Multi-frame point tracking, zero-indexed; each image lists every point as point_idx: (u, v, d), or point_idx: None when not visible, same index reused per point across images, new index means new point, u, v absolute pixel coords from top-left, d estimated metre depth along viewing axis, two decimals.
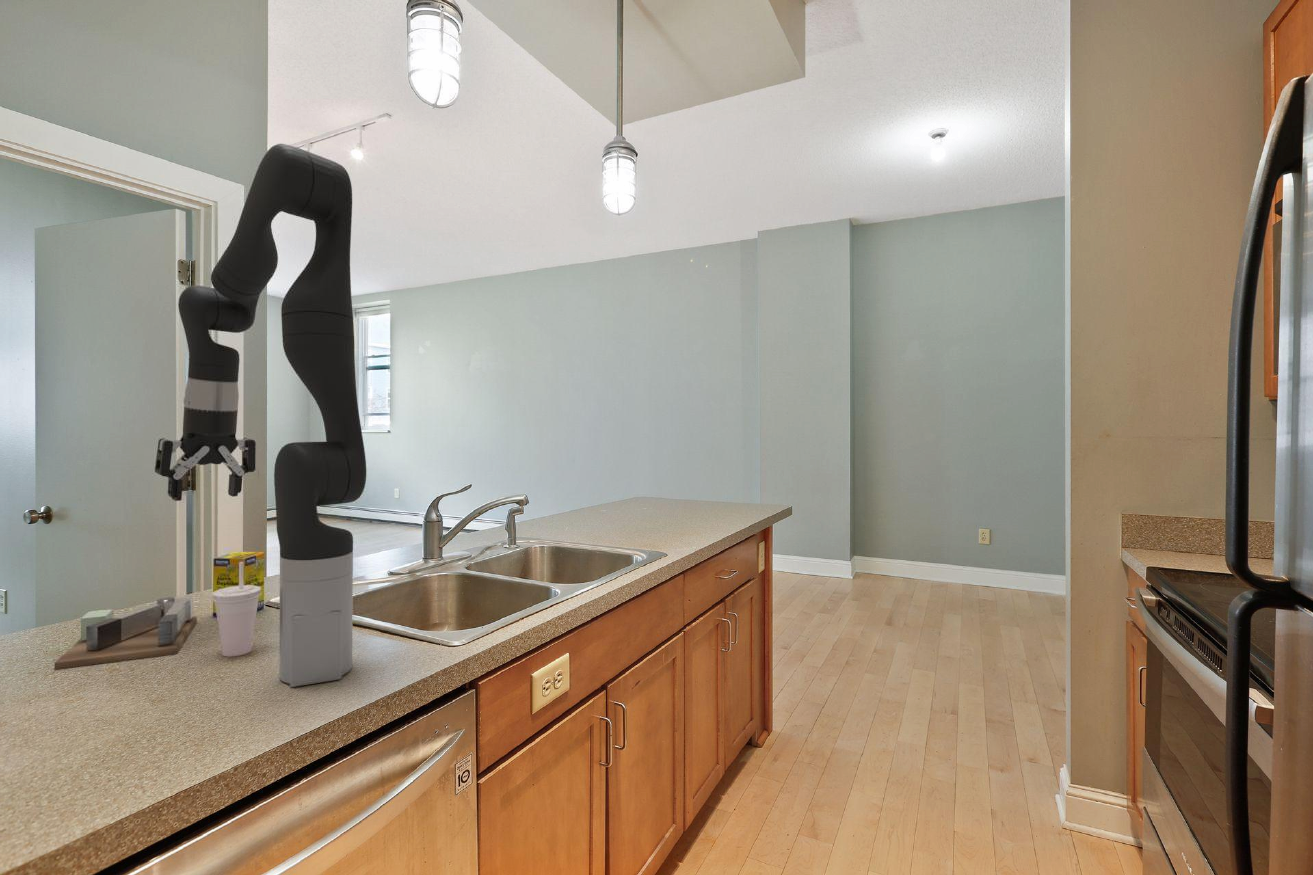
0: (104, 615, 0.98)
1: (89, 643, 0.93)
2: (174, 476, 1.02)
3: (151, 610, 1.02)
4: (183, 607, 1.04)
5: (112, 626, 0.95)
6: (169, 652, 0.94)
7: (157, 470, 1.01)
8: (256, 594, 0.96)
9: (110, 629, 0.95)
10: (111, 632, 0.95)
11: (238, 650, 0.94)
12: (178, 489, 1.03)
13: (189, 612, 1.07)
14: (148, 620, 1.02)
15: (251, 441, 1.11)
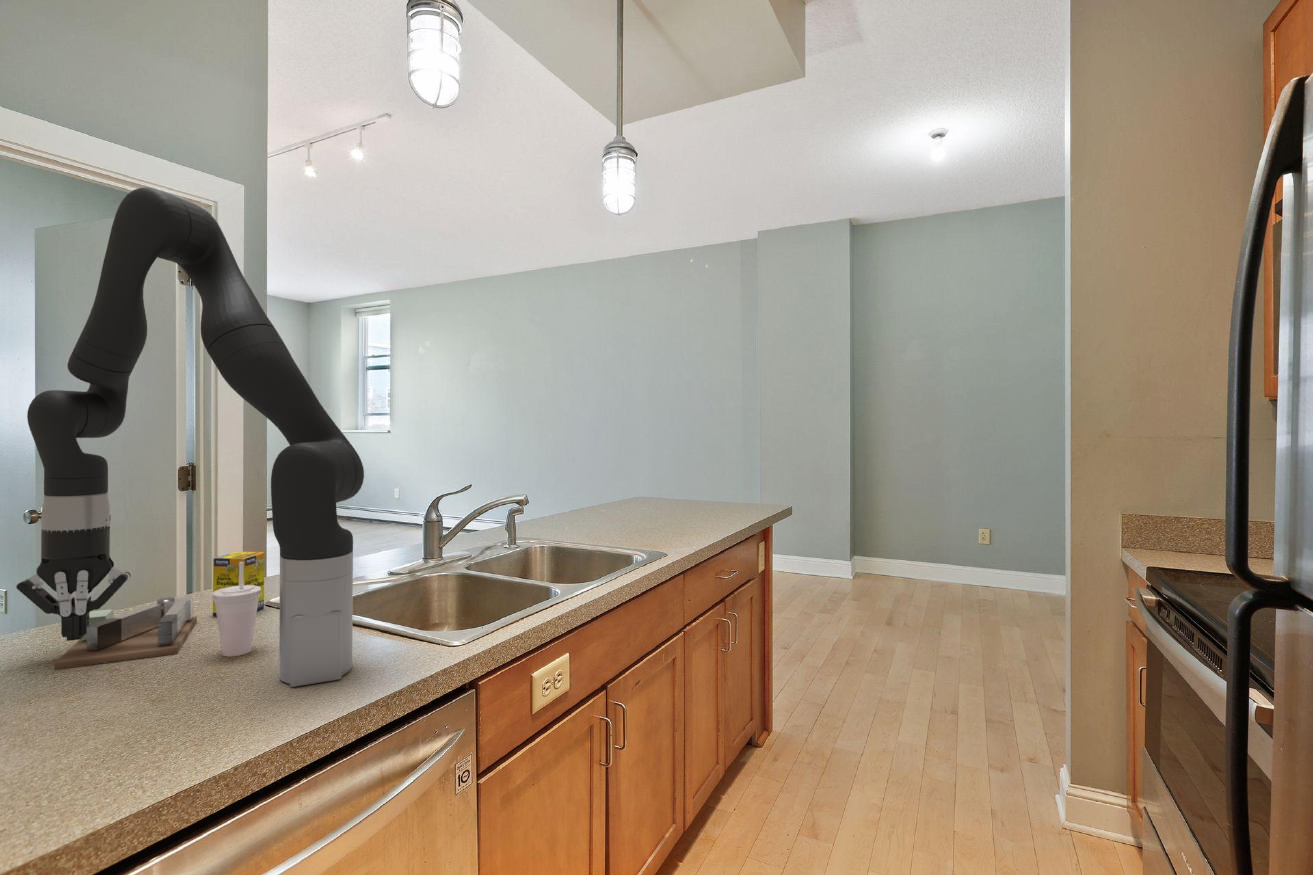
0: (104, 615, 0.98)
1: (89, 643, 0.93)
2: (61, 613, 0.91)
3: (151, 610, 1.02)
4: (183, 607, 1.04)
5: (112, 626, 0.95)
6: (169, 652, 0.94)
7: None
8: (256, 594, 0.96)
9: (110, 629, 0.95)
10: (111, 632, 0.95)
11: (238, 650, 0.94)
12: (67, 628, 0.92)
13: (189, 612, 1.07)
14: (148, 620, 1.02)
15: (122, 577, 0.94)
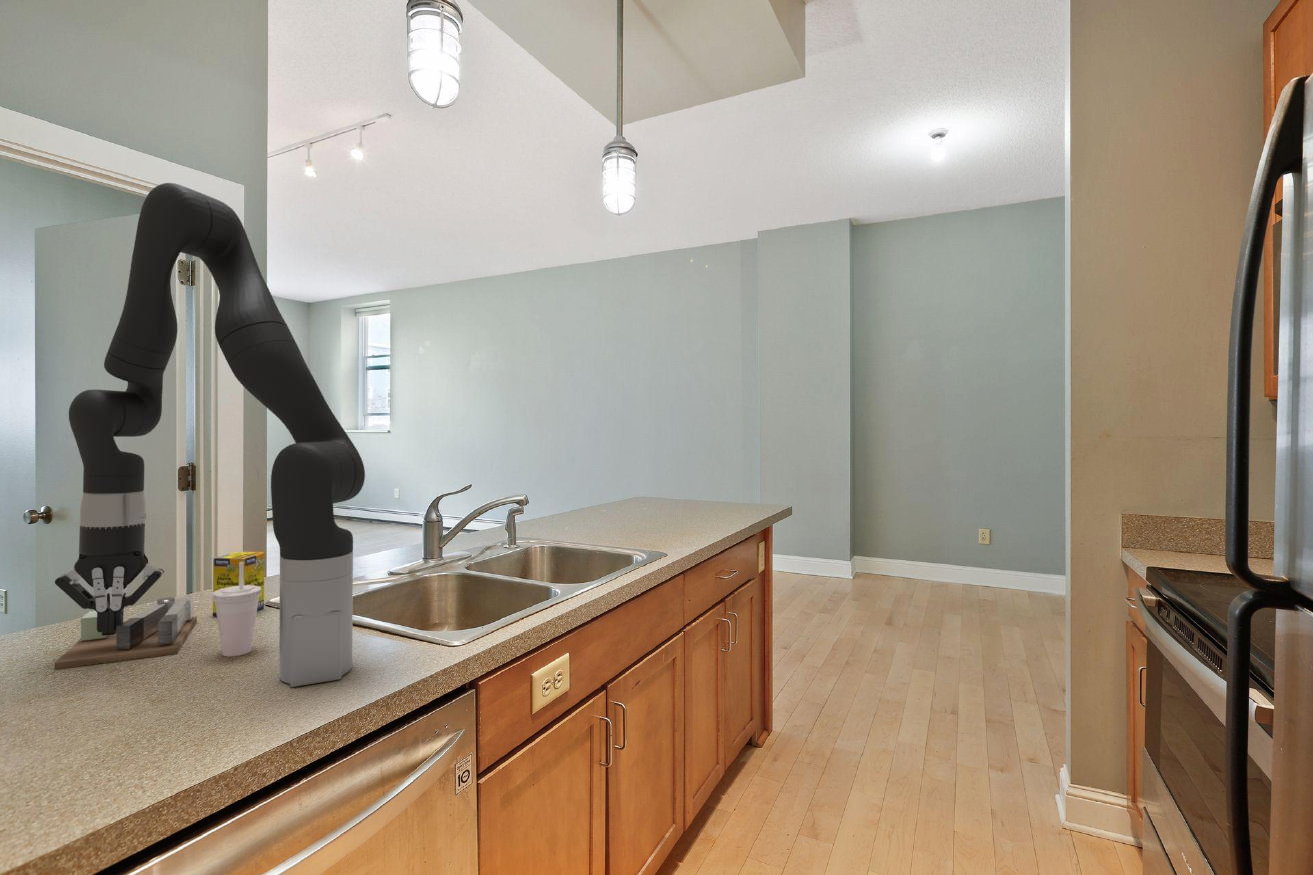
0: None
1: (120, 642, 0.93)
2: (97, 608, 0.93)
3: (160, 609, 1.03)
4: (183, 607, 1.04)
5: (138, 625, 0.96)
6: (169, 652, 0.94)
7: None
8: (256, 594, 0.96)
9: (137, 628, 0.95)
10: (137, 631, 0.96)
11: (238, 650, 0.94)
12: (102, 623, 0.93)
13: (189, 612, 1.07)
14: (158, 620, 1.02)
15: (156, 573, 0.96)
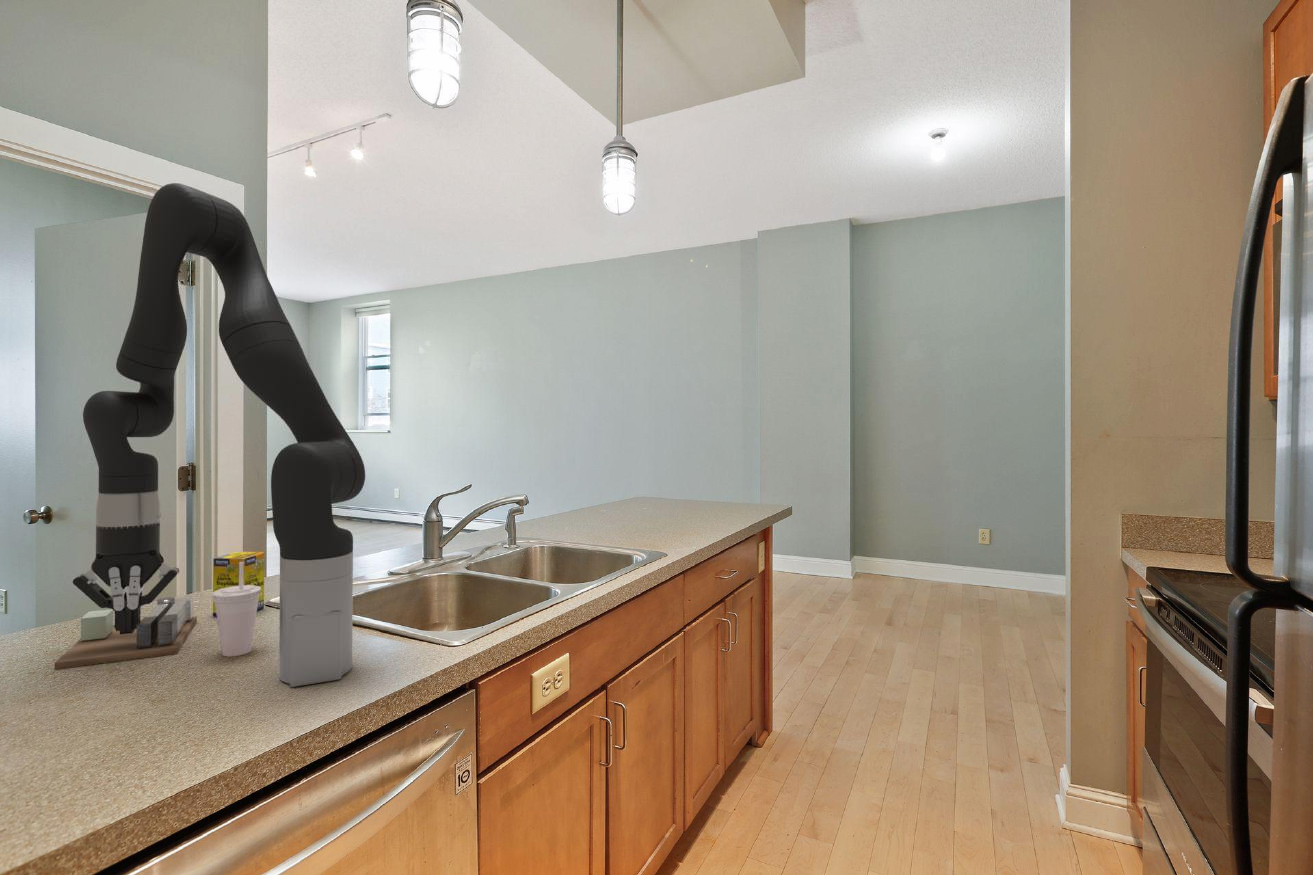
0: (104, 615, 0.98)
1: (140, 641, 0.94)
2: (115, 607, 0.94)
3: (166, 609, 1.03)
4: (183, 607, 1.04)
5: (154, 623, 0.97)
6: (169, 652, 0.94)
7: None
8: (256, 594, 0.96)
9: (154, 626, 0.96)
10: (154, 629, 0.96)
11: (238, 650, 0.94)
12: (120, 622, 0.94)
13: (189, 612, 1.07)
14: None
15: (172, 572, 0.97)
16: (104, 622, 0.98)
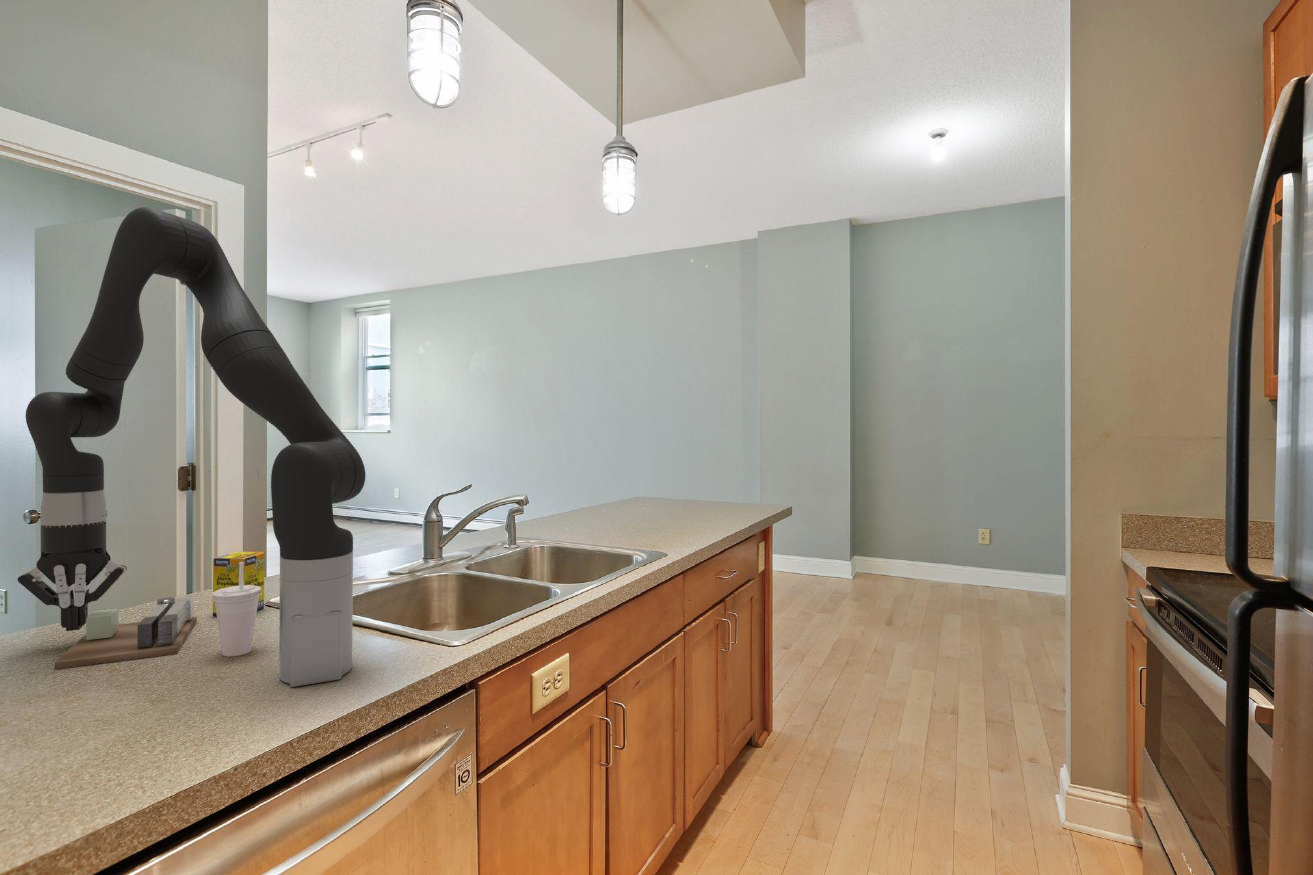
0: (109, 614, 0.98)
1: (141, 641, 0.94)
2: (60, 604, 0.96)
3: (166, 609, 1.03)
4: (183, 607, 1.04)
5: (155, 623, 0.97)
6: (169, 652, 0.94)
7: None
8: (256, 594, 0.96)
9: (155, 626, 0.96)
10: (155, 629, 0.97)
11: (238, 650, 0.94)
12: (66, 619, 0.96)
13: (189, 612, 1.07)
14: None
15: (118, 569, 0.99)
16: (109, 621, 0.98)
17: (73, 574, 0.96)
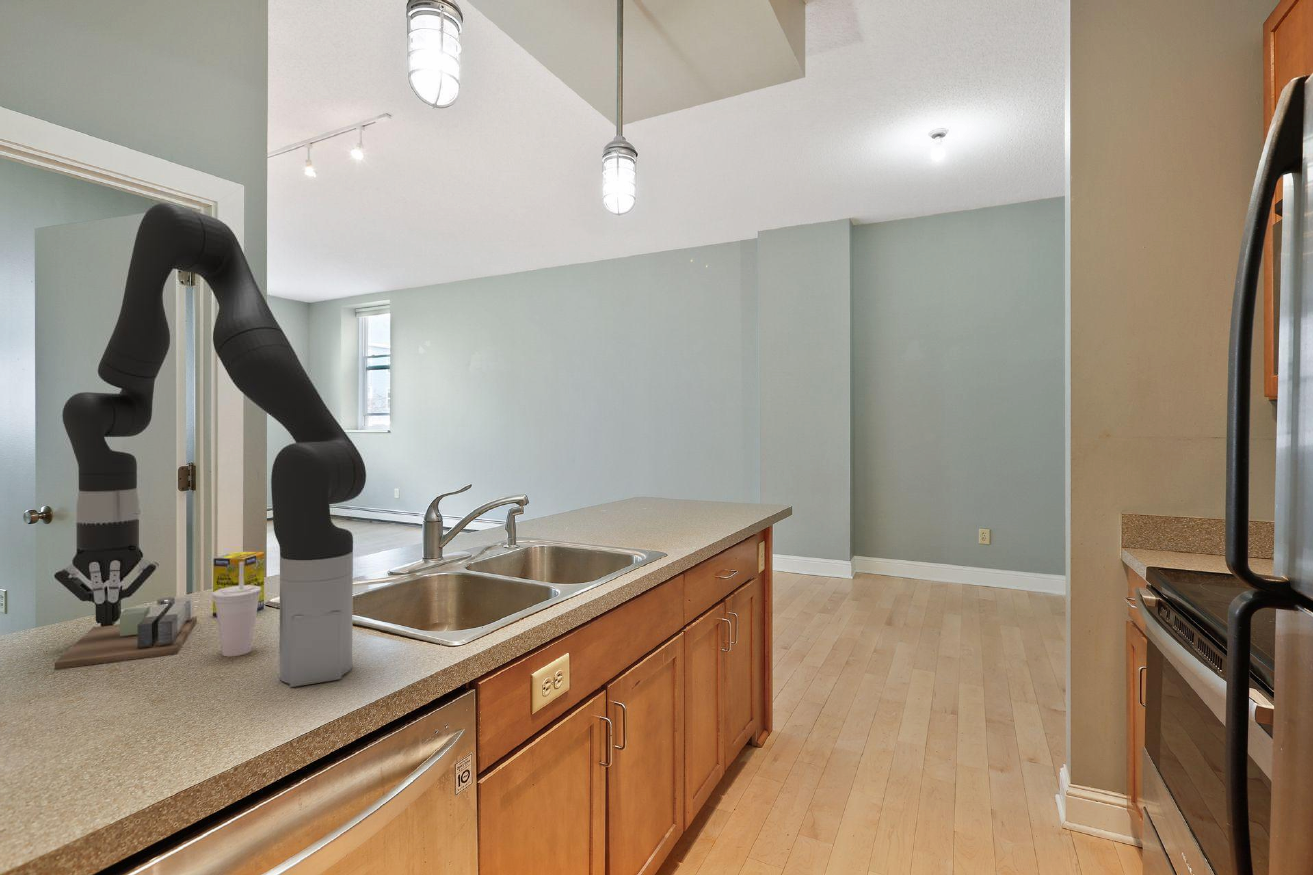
0: (142, 611, 1.00)
1: (141, 641, 0.94)
2: (95, 600, 0.98)
3: (166, 609, 1.03)
4: (183, 607, 1.04)
5: (155, 623, 0.97)
6: (169, 652, 0.94)
7: None
8: (256, 594, 0.96)
9: (155, 626, 0.96)
10: (155, 629, 0.97)
11: (238, 650, 0.94)
12: (101, 614, 0.98)
13: (189, 612, 1.07)
14: None
15: (151, 566, 1.01)
16: (142, 618, 1.00)
17: (107, 571, 0.98)
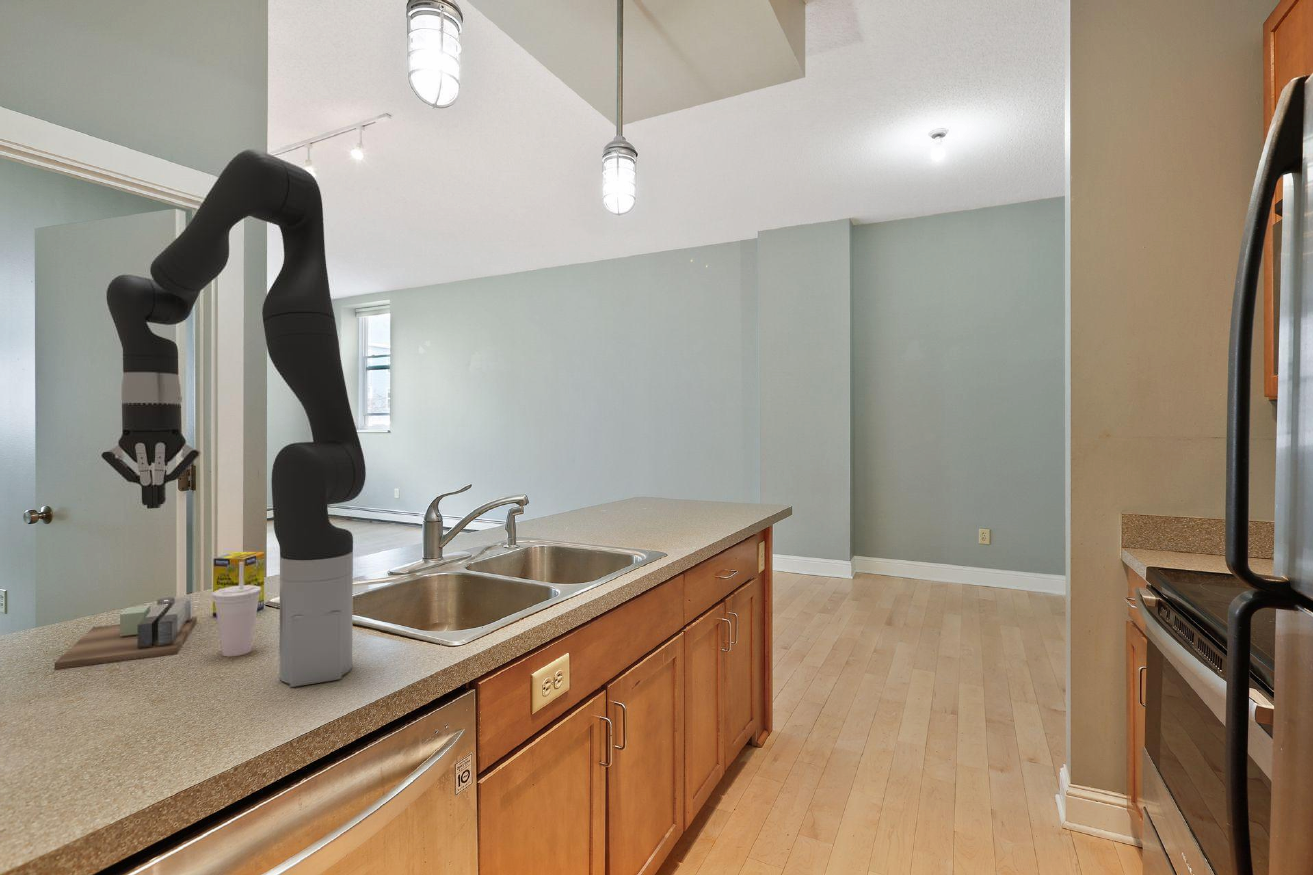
0: (142, 611, 1.00)
1: (141, 641, 0.94)
2: (141, 482, 0.99)
3: (166, 609, 1.03)
4: (183, 607, 1.04)
5: (155, 623, 0.97)
6: (169, 652, 0.94)
7: None
8: (256, 594, 0.96)
9: (155, 626, 0.96)
10: (155, 629, 0.97)
11: (238, 650, 0.94)
12: (147, 496, 0.99)
13: (189, 612, 1.07)
14: None
15: (194, 451, 1.02)
16: (142, 618, 1.00)
17: (153, 453, 1.00)
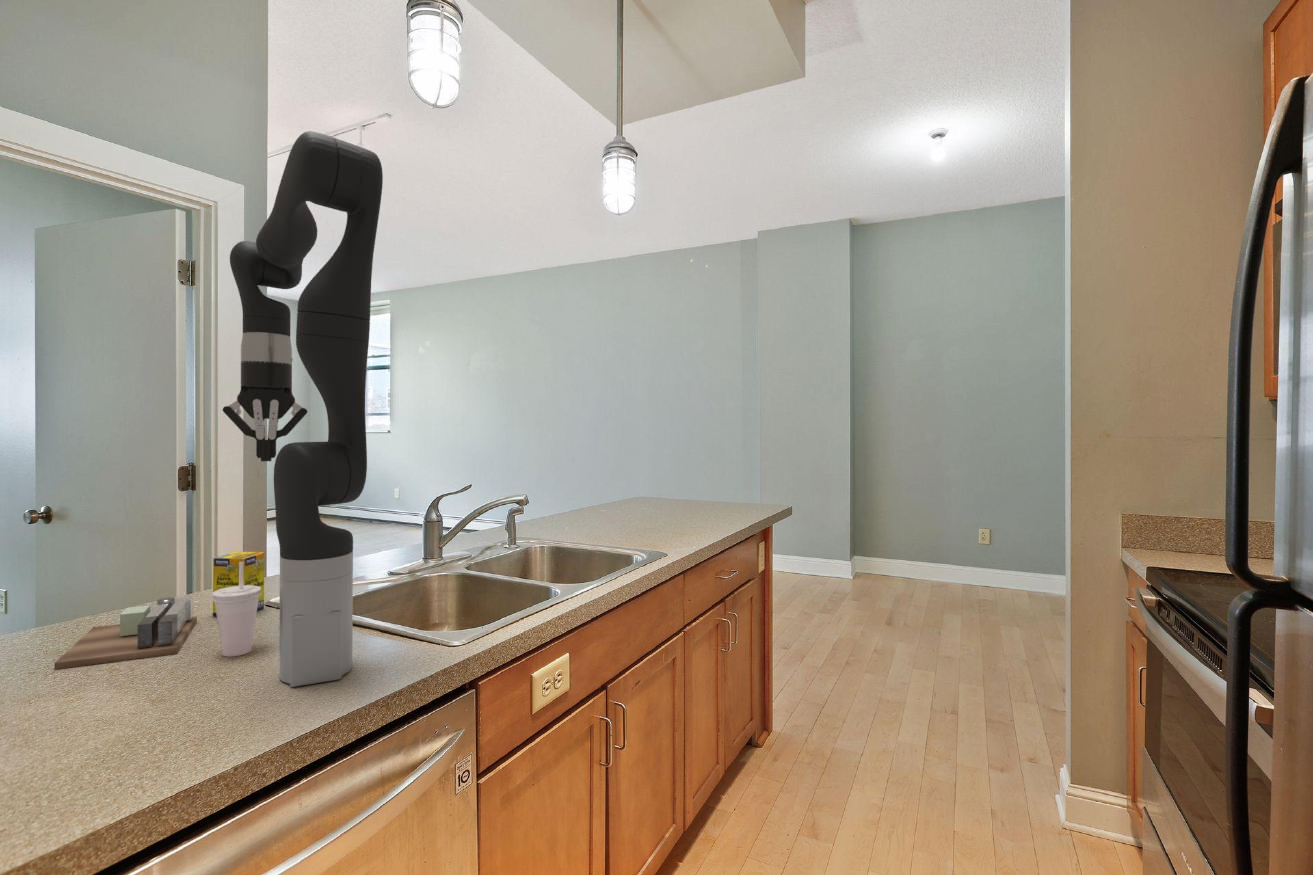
0: (142, 611, 1.00)
1: (141, 641, 0.94)
2: (257, 436, 1.06)
3: (166, 609, 1.03)
4: (183, 607, 1.04)
5: (155, 623, 0.97)
6: (169, 652, 0.94)
7: None
8: (256, 594, 0.96)
9: (155, 626, 0.96)
10: (155, 629, 0.97)
11: (238, 650, 0.94)
12: (261, 449, 1.06)
13: (189, 612, 1.07)
14: None
15: (304, 409, 1.09)
16: (142, 618, 1.00)
17: (267, 409, 1.06)
